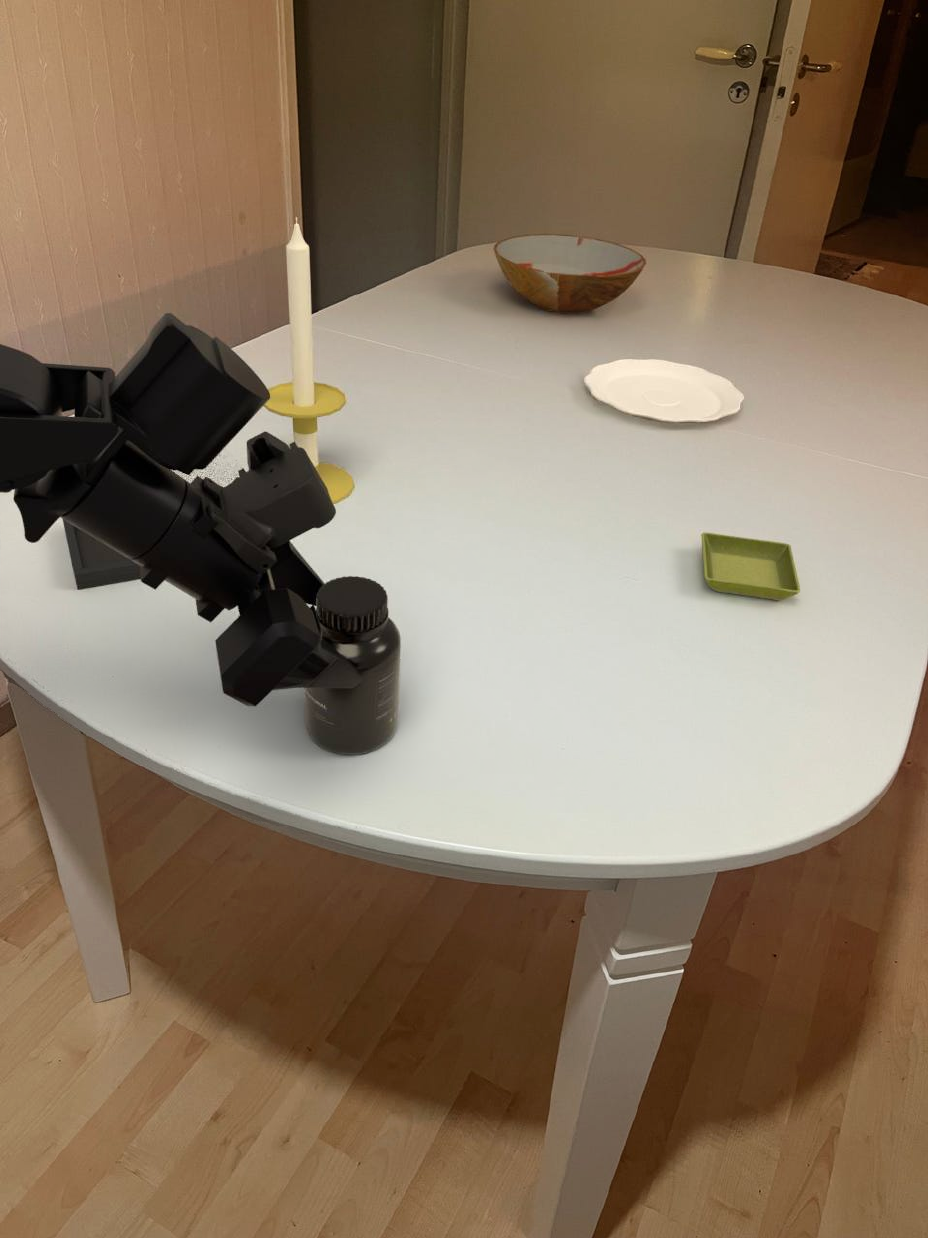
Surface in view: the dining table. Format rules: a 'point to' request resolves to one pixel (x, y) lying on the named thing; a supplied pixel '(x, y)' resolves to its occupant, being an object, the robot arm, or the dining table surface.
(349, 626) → the supplement bottle
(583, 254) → the bowl
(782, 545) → the olive green square dish
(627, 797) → the dining table surface
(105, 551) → the dock pad
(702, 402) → the plate
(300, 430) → the candle
